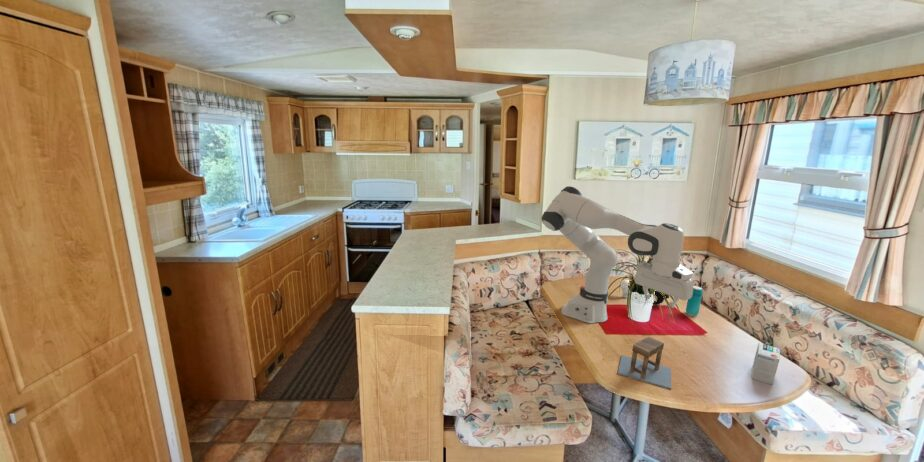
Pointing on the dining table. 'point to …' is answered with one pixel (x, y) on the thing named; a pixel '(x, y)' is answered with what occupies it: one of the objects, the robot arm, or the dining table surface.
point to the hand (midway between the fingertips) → (659, 302)
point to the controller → (659, 297)
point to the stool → (646, 354)
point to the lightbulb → (624, 287)
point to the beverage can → (694, 301)
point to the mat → (652, 375)
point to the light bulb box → (765, 363)
